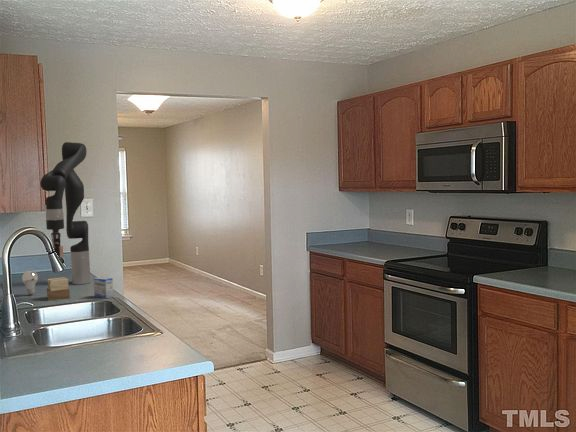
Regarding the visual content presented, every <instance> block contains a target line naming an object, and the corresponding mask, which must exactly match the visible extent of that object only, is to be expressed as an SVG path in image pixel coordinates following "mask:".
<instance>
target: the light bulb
mask: <svg viewBox="0 0 576 432" xmlns="http://www.w3.org/2000/svg"><path fill="white" fill-rule="evenodd" d="M21 278H22V279H21V280H22V282H23V284H24V285H25V288H26V292H27V294H28V295H29V296H33V295H34V294H35V291H36V290H35V288H36V284H37V282H38V281H39V275H38V273H37V272H36V271H35V270H32V269H31V270H30V269H29V270H26V271H24V272H23V274H22V276H21Z"/></svg>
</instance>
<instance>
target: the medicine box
mask: <svg viewBox="0 0 576 432" xmlns="http://www.w3.org/2000/svg"><path fill="white" fill-rule="evenodd" d="M113 280H114V279H113V278H111V277H95V278H93V293H94V294H93V295H94V298H101V299H102V298H103V299H107V298H112V297H114V281H113Z"/></svg>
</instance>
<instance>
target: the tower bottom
mask: <svg viewBox="0 0 576 432" xmlns="http://www.w3.org/2000/svg"><path fill="white" fill-rule="evenodd" d="M70 294H71V293H70V288H69V289H64V290H55V291H51V290H49V289H48V287H47V288H46V296H47V297H46V298H47V301H49V302H50V300H51V301H58V300H59V299H60V300H66V299H67V300H69V299H71V296H70Z"/></svg>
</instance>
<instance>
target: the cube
mask: <svg viewBox="0 0 576 432" xmlns="http://www.w3.org/2000/svg"><path fill="white" fill-rule="evenodd" d="M52 246H53V245H52ZM53 248H54V246H53ZM59 258H64V246H63V245H60V257H59Z"/></svg>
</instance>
